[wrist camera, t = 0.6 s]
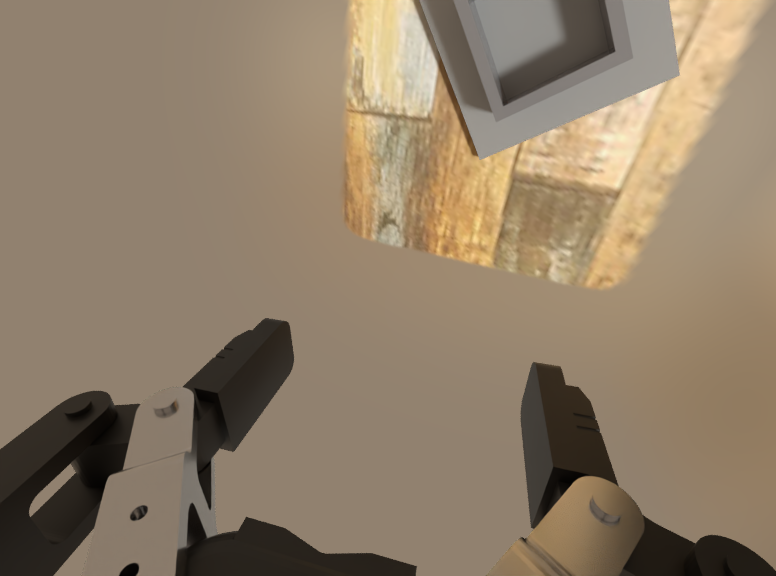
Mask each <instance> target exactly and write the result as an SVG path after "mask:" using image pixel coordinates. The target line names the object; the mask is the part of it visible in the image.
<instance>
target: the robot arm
mask: <svg viewBox="0 0 776 576" xmlns="http://www.w3.org/2000/svg"><path fill="white" fill-rule="evenodd" d="M293 363H294V354H293V346H292V339H291V332H290V326H289V323H288V322H287V321H281V320H275V319H269V318H265V319H264V320H262V321H261V322H260V323H259V324H258V325H257V326H256V327H255V328H254V329H253V330H248V331H246V332H244V333H242V334H241V335H238V336H237V337H235V338H234V339H233V340H232V341H230V342H229V343H228V344H227V345H226V346H225V347H224V350H221V351H220V352H219V353H218V354H217V355H216V357H215V358H213V359H212V360H211V361H209V363H207V364H206V365H205V366H204V367H203V368H202V369H201V370H200V371H199V372H198V373H197V374H196V375H195V376H194V377H192V379H190V380H189V381H188V382H187V383H186V384H185V385H184V386H183V387H172V388H168V389H164V390H161V391H159V392H157V393H154V394H153V395H151V396H149V397H148V398H147V399H145V400H144V401H143V402H142V403H141V404H130V405H114V403H113V401H112V399H111V397H110V395H109V394H108V393H106V392H103V391H90V392H86V393H82V394H79V395H76V396H74V397H71V398H69V399H67V400H66V401H64V402H62V403H61V404H60V405H58V406H56V407H55V408H54V409H53V410H51V411H50V412H49V413H47V414H46V415H45V416H43V417H42V418H41V419H40V420H38V421H37V422H36V423H34V424H33V425H32V426H30V427H29V428H28V429H26V430H25V431H24V432H22V433H21V434H20V435H18V436H17V437H16V438H15V439H13V440H12V441H11V442H9V443H8V444H7V445H6V446H4V447H3V448H1V449H0V576H53V575H54V574H55V573H56V572H57V571H58V570H59V568H60V567H61V566H62V565H63V563H64V562H65V561H66V560H67V559H68V558H69V557H70V555H71V554H72V553H73V552H74V551H75V550H76V548H77V547H78V546H79V545H80V544H81V543H82V541H83V540H84V539H85V538H86V537H87V536H88V534H89V533H90V532H91V531H92V530H93V529H94V531H93V535H92V538H91V542H90V547H89V550H88V554H87V557H86V561H85V565H84V569H83V572H82V576H416V568H417V566H414V565H410V564H407V563H403V562H400V561H397V560H393V559H389V558H386V557H383V556H379V555H376V554H372V553H356V554H355V553H349V554H325V553H321V552H319V551H317V550H316V549H314V548H313V547H312V546H310V545H309V544H307V543H306V542H304V541H303V540H301V539H300V538H299V537H297V536H296V535H294V534H293V533H291V532H290V531H288V530H287V529H285V528H283V527H279V526H276V525H272V524H269V523H265V522H261V521H258V520H255V519H252V518H248V517H246V518H245V520H244V522H243V524H242V525H241V527H240V529H239V531H233V532H227V533H222V534H218V532H217V527H216V516H215V462H214V458H213V456H214V455H215V454H216V452H217V451H218V450H219V448H221V449H224V450H228V451H232V452H233V451H235V450H236V448H237V447H238V445H239V444H240V442H241V441H242V440H243V438H244V437H245V436H246V434H247V433H248V431H249V430H250V429H251V427H252V426H253V425H254V423H255V422H256V420H257V419H258V418H259V416H260V415H261V413H262V412H263V411H264V409H265V408H266V406H267V405H268V404H269V402H270V401H271V399H272V398H273V397H274V395H275V394H276V392H277V391H278V390H279V388H280V386H282V384H283V383H284V381H285V380H286V378H287V377H288V376H289V374H290V372H291V370H292V367H293ZM595 418H596V417H595V414H594V411H593V408H592V405H591V402H590V401H589V399H588V398H587V397H586V396H585V395H584V393H583V392H582V391H581V390H580V389H579V387H574V386H568V385H565V380H564V377H563V373H562V369H561V367H560V366H554V365H548V364H542V363H536V362H533V363H532V366H531V369H530V373H529V376H528V380H527V384H526V388H525V392H524V395H523V400H522V405H521V427H522V438H523V448H524V459H525V469H526V480H527V490H528V501H529V511H530V522H531V528H533V529H534V530H533V531H532V533H531V534H530V535H529V536H528V537H527V538H525V539H524V538H519V539H518V540H517V541H516V542H515V543H514V544H513V545H512V546H511V547H510V548H509V549H508V551H507V552H506V553H505V554H504V555H503V556H502V558H501V559H500V560H499V561H498V562H497V563H496V565H495V566H494V567H493V568H492V569H491V570H490V571H489V573H488V574H487V575H486V576H776V571H775V570H774V569H773V567H771V566H770V565H769V564H768V563H767V562H766V561H765V560H764V559H763V558H761V557H760V556H759V555H758V554H756V553H755V552H753V551H752V550H750V549H749V548H747V547H746V546H744V545H742V544H740V543H738V542H736V541H734V540H732V539H729V538H726V537H722V536H718V535H708V536H704V537H702V538H700V539H699V540H698V541H697V543H696V544H695V543H693V542H691V541H689V540H687V539H685V538H683V537H681V536H679V535H677V534H675V533H673V532H671V531H669V530H667V529H665V528H663V527H661V526H659V525H658V524H656V523H654V522H652V521H651V520H649V519H648V518H646V517H645V516H644V515H642V512H641V510H640V508H639V507H638V505H637V504H636V502H635V501H634V500H633V499H632V498H631V496H629V495H628V494H627V493H626V492H625V491H624V490H623V489H621V488H620V487H619V486H618V483H617V480H616V477H615V474H614V471H613V468H612V465H611V462H610V459H609V456H608V453H607V450H606V447H605V444H604V441H603V438H602V435H601V433H600V429H599V426H598V423H597V420H595ZM70 463H71V465H72V467H73V468H74V470H75V472H76V473H75V474H74V475H73V476H72V477H71V479H69V480H68V481H67V482H66V483H65V484H64V485H63V486H62V487H61V488H60V489H59V490H58V491H57V492H56V493H55V494H54V495H53V496H52V497H51V498H50V499H49V500H48V501H47V502H46V503H45V504H44V505H43V506H42V507H41V508H40V509H39V510H38V511H36V512H35V513H34V514H33V515H32V516H31V517H30V516H29V508H30V505H31V503H32V501H33V500H34V498H35V497H36V496H37V494H38V493H39V492H40V491H41V490H43V489H44V488H45V487H46V486H47V485H48V484H49V483H50V482H51V481H52V480H53V479H54V478H55V477H56V476H57V475H59V474H60V473H61V472H62V471H63V470H64V469H65V468H66V467H67V466H68V465H69V464H70Z"/></svg>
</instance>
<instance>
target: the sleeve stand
mask: <svg viewBox="0 0 776 576" xmlns="http://www.w3.org/2000/svg"><path fill="white" fill-rule="evenodd" d="M419 1H420V3H421V6H422V9H423V11H424V14H425V17H426V19H427V22H428V24H429V27H430V30H431V32H432V35H433V38H434V40H435V43H436V46H437V48H438V51H439V53H440V56H441V59H442V61H443V64H444V67H445V69H446V72H447V74H448V77H449V80H450V82H451V85H452V88H453V90H454V93H455V96H456V98H457V101H458V103H459V106H460V109H461V111H462V114H463V117H464V119H465V122H466V125H467V127H468V130H469V132H470V135H471V138H472V140H473V143H474V146H475V148H476V151H477V153H478V156H479V159H480V160H481V159H483V158H486V157H488V156H490V155H493V154H495V153H497V152H500V151H502V150H505V149H507V148H509V147H512V146H514V145H516V144H519V143H521V142H523V141H526V140H528V139H531V138H533V137H535V136H538V135H540V134H542V133H545V132H547V131H549V130H552V129H554V128H557V127H559V126H561V125H564V124H566V123H568V122H571V121H573V120H575V119H578V118H580V117H582V116H585V115H587V114H590V113H592V112H594V111H597V110H599V109H601V108H604V107H606V106H608V105H611V104H613V103H616V102H618V101H620V100H623V99H625V98H627V97H630V96H632V95H634V94H637V93H639V92H642V91H644V90H646V89H649V88H651V87H653V86H656V85H658V84H660V83H663V82H665V81H668V80H670V79H672V78H675V77H677V76H679V75H680V74H679V67H678V60H677V53H676V46H675V39H674V32H673V26H672V19H671V12H670V5H669V0H419Z"/></svg>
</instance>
